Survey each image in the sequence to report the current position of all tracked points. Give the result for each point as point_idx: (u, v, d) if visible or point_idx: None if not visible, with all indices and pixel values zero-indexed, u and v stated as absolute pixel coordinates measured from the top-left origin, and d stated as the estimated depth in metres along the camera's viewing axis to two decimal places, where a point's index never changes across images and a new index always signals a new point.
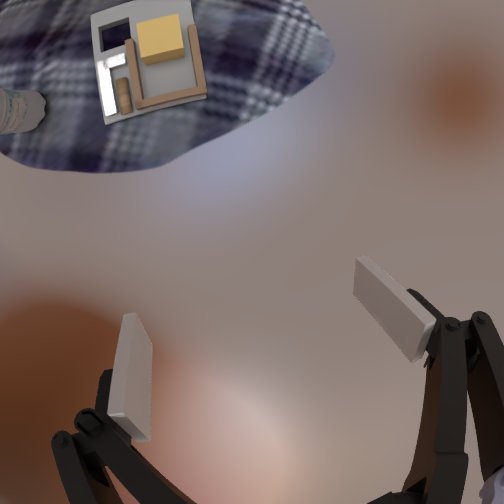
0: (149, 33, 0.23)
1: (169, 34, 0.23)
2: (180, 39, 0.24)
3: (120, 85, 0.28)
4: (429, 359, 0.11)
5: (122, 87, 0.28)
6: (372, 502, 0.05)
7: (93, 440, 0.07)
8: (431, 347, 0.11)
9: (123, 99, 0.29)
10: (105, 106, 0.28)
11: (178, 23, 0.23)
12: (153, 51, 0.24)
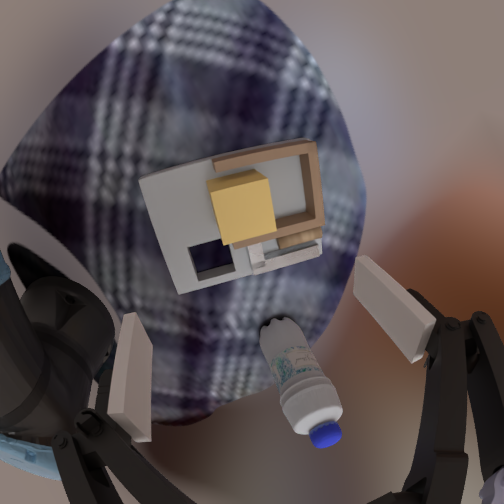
0: (241, 226, 0.25)
1: (245, 199, 0.24)
2: (254, 183, 0.23)
3: (289, 242, 0.31)
4: (429, 359, 0.11)
5: (292, 240, 0.31)
6: (372, 502, 0.05)
7: (93, 440, 0.07)
8: (431, 347, 0.11)
9: (306, 237, 0.31)
10: (309, 257, 0.32)
11: (227, 189, 0.23)
12: (270, 215, 0.25)
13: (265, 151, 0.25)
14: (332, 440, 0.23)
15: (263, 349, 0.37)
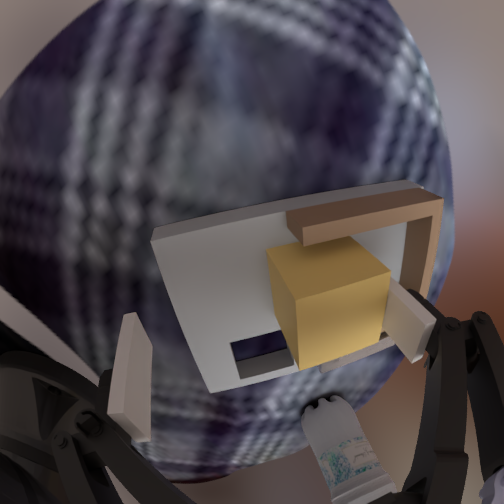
0: (333, 344, 0.14)
1: (351, 306, 0.13)
2: (371, 281, 0.12)
3: None
4: (429, 359, 0.11)
5: None
6: (372, 502, 0.05)
7: (93, 440, 0.07)
8: (431, 347, 0.11)
9: None
10: (390, 344, 0.21)
11: (326, 293, 0.12)
12: (377, 324, 0.14)
13: (383, 211, 0.14)
14: None
15: (309, 436, 0.26)
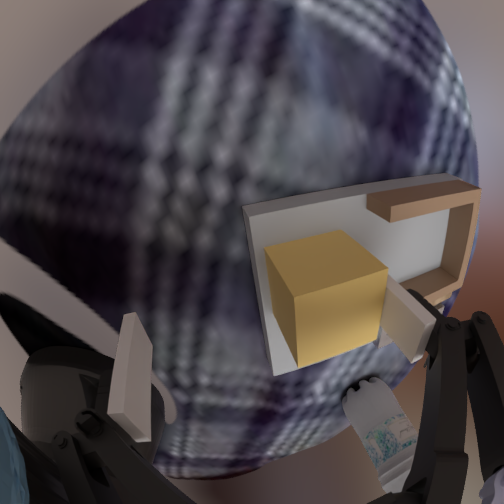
0: (331, 341, 0.14)
1: (349, 303, 0.13)
2: (368, 278, 0.12)
3: None
4: (429, 359, 0.11)
5: None
6: (372, 502, 0.05)
7: (93, 440, 0.07)
8: (431, 347, 0.11)
9: (439, 300, 0.21)
10: None
11: (325, 290, 0.12)
12: (375, 321, 0.14)
13: (443, 196, 0.15)
14: None
15: (353, 417, 0.26)
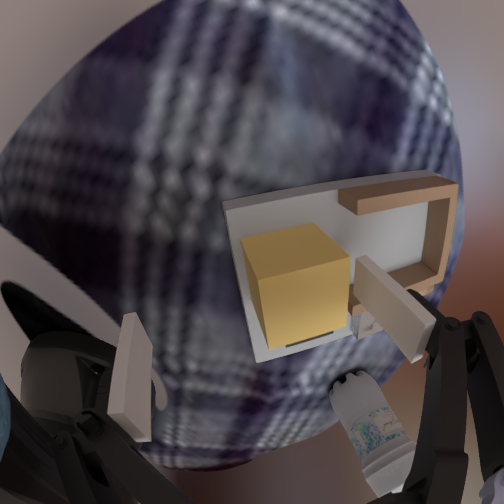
0: (299, 325, 0.15)
1: (312, 288, 0.14)
2: (330, 265, 0.14)
3: None
4: (429, 359, 0.11)
5: None
6: (372, 502, 0.05)
7: (93, 440, 0.07)
8: (431, 347, 0.11)
9: None
10: None
11: (287, 275, 0.14)
12: (342, 308, 0.16)
13: (414, 191, 0.16)
14: None
15: (338, 409, 0.28)
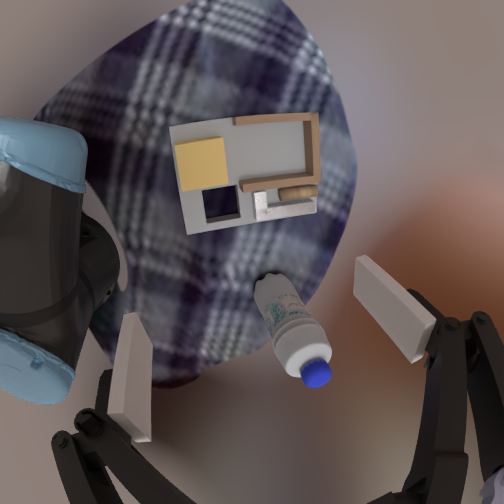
0: (198, 176, 0.28)
1: (203, 153, 0.27)
2: (211, 141, 0.27)
3: (289, 195, 0.35)
4: (429, 359, 0.11)
5: (292, 194, 0.35)
6: (372, 502, 0.05)
7: (93, 440, 0.07)
8: (431, 347, 0.11)
9: (304, 192, 0.35)
10: (305, 211, 0.37)
11: (189, 144, 0.26)
12: (223, 169, 0.28)
13: (277, 114, 0.29)
14: (323, 377, 0.28)
15: (257, 299, 0.41)
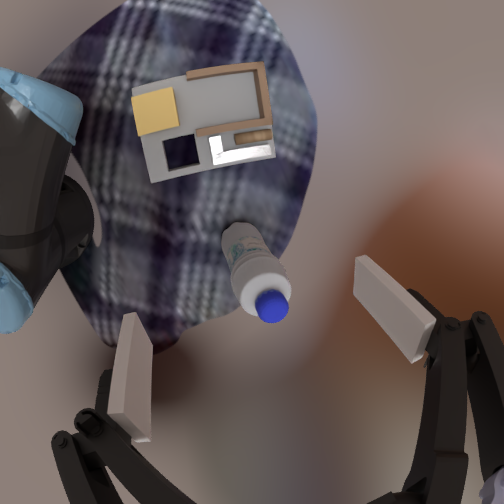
0: (151, 121, 0.29)
1: (155, 101, 0.28)
2: (162, 90, 0.27)
3: (243, 138, 0.35)
4: (429, 359, 0.11)
5: (246, 136, 0.35)
6: (372, 502, 0.05)
7: (93, 440, 0.07)
8: (431, 347, 0.11)
9: (258, 135, 0.35)
10: (262, 154, 0.37)
11: (143, 95, 0.27)
12: (173, 113, 0.29)
13: (224, 65, 0.29)
14: (277, 308, 0.28)
15: (223, 246, 0.41)
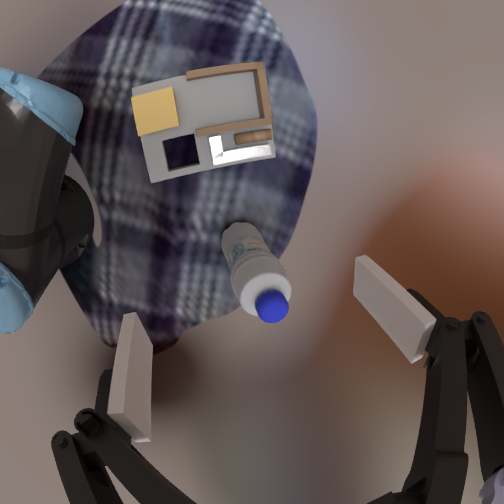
0: (151, 121, 0.29)
1: (155, 101, 0.28)
2: (162, 90, 0.27)
3: (243, 138, 0.35)
4: (429, 359, 0.11)
5: (246, 136, 0.35)
6: (372, 502, 0.05)
7: (93, 440, 0.07)
8: (431, 347, 0.11)
9: (258, 135, 0.35)
10: (262, 154, 0.37)
11: (143, 95, 0.27)
12: (173, 113, 0.29)
13: (224, 65, 0.29)
14: (277, 308, 0.28)
15: (223, 246, 0.41)
